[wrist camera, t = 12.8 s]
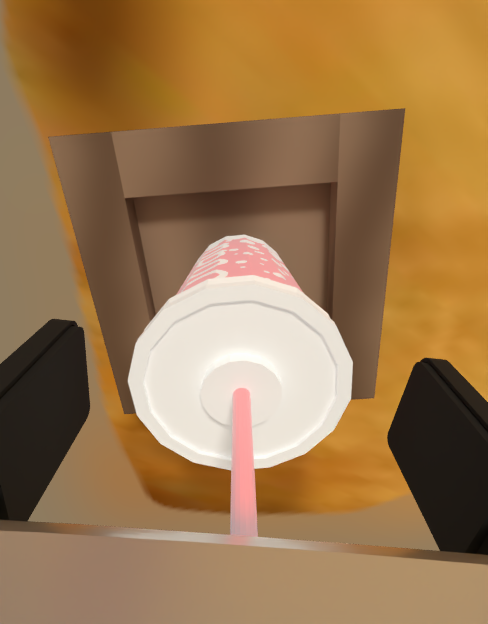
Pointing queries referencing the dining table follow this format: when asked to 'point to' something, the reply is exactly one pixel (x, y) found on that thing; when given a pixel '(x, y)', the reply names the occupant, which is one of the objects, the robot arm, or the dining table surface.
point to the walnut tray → (237, 217)
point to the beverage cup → (240, 369)
